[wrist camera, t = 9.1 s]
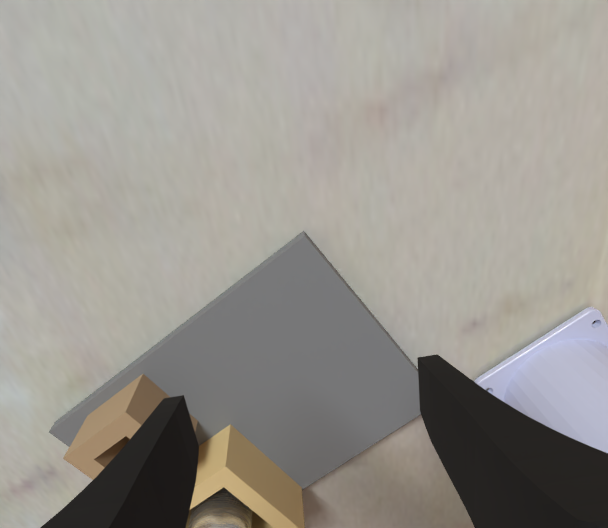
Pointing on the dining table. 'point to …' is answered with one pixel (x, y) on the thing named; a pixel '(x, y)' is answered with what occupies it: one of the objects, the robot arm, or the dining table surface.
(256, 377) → the fitting board
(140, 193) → the dining table surface
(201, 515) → the metal round peg
